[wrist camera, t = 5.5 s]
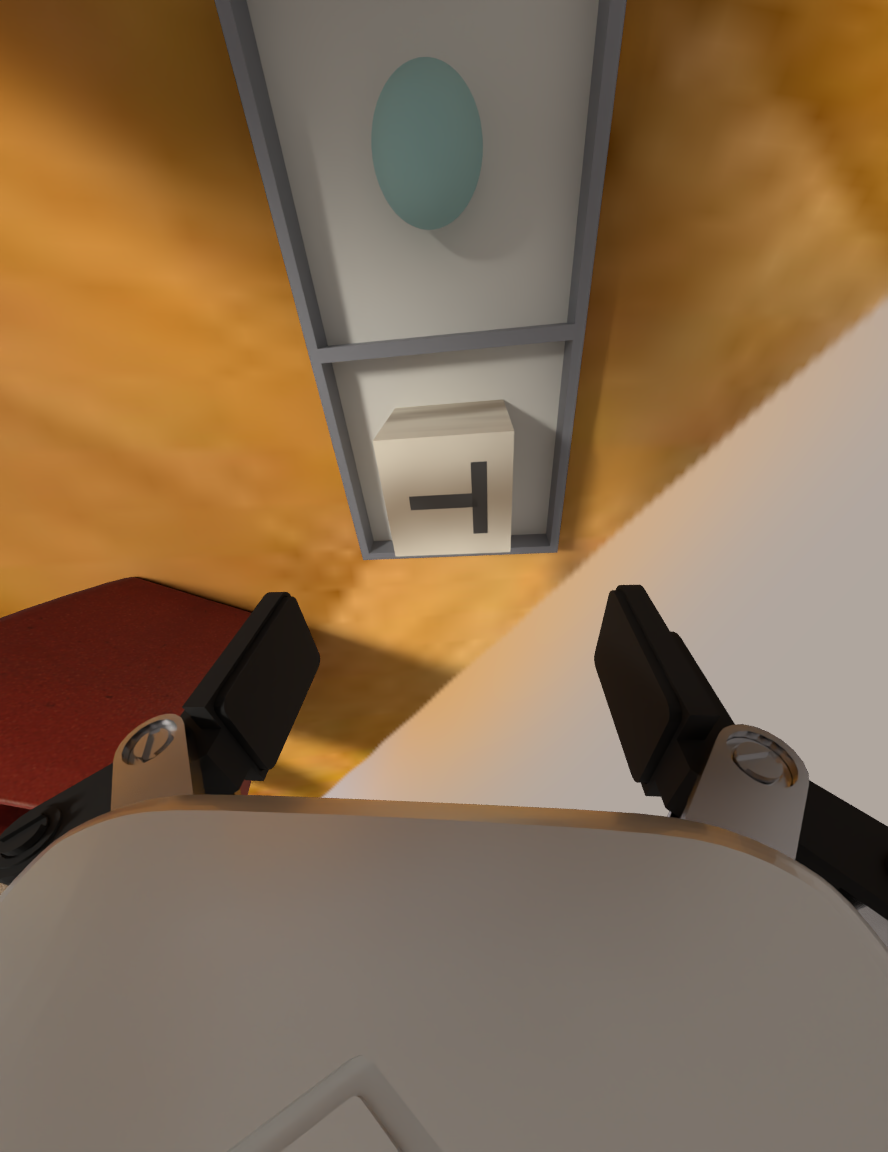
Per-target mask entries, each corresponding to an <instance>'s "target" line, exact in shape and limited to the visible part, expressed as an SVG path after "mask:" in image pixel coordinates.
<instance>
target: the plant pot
mask: <svg viewBox="0 0 888 1152" xmlns="http://www.w3.org/2000/svg"><path fill="white" fill-rule="evenodd" d="M250 614H251V613H250V612H247V611H244V610H240V609H237V608H234V607H230V606H227V605H224V604H220V603H217V602H214V601H210V600H207V599H204V598H201V597H197V596H194V595H191V594H188V593H185V592H182V591H178V590H175V589H172V588H168V587H165V586H162V585H158V584H155V583H152V582H149V581H145V580H142V579H139V578H134V577H129V578H124V579H120V580H116V581H112V582H108V583H105V584H102V585H99V586H95V587H92V588H89V589H85V590H82V591H79V592H75V593H72V594H69V595H66V596H63V597H60V598H57V599H54V600H51V601H48V602H45V603H42V604H39V605H36V606H33V607H30V608H27V609H24V610H21V611H19V612H16V613H13V614H10V615H7V616H5V617H2V618H0V835H1V834H2V833H3V832H4V831H5V829H6V828H8V827H9V826H10V825H11V824H12V823H13V822H15V821H16V820H17V819H18V818H19V817H21V816H22V815H24V814H25V813H27V812H28V811H30V810H31V809H33V808H35V807H36V806H38V805H40V804H42V803H43V802H45V801H47V800H49V799H50V798H52V797H54V796H56V795H57V794H59V793H61V792H63V791H64V790H66V789H68V788H70V787H71V786H73V785H75V784H77V783H78V782H80V781H82V780H84V779H85V778H87V777H89V776H91V775H92V774H94V773H96V772H98V771H99V770H101V769H103V768H104V767H106V766H108V765H110V764H111V763H113V759H114V755H115V752H116V750H117V748H118V747H119V745H120V743H121V742H122V741H123V740H124V738H125V737H126V736H127V735H128V734H129V733H130V732H131V731H133V730H134V729H135V728H136V727H138V726H139V725H141V724H142V723H144V722H146V721H147V720H149V719H151V718H154V717H156V716H159V715H164V714H176V715H178V716H179V717H180V715H181V714H182V713H183V711H184V709H183V708H182V706H183V705H184V703H185V702H186V701H187V699H188V698H189V697H190V695H191V694H192V693H193V691H194V690H195V689H196V687H197V686H198V685H199V683H200V682H201V681H202V679H203V678H204V677H205V675H206V674H207V672H208V671H209V670H210V668H211V667H212V666H213V664H214V663H215V662H216V660H217V659H218V658H219V656H220V655H221V654H222V652H223V651H224V650H225V648H226V647H227V645H228V644H229V643H230V641H231V640H232V639H233V637H234V636H235V635H236V633H237V632H238V631H239V629H240V628H241V627H242V625H243V624H244V623H245V621H246V620H247V619H248V617H249V616H250ZM250 783H251V780H245V779H244V781H243V783H242V785H241V787H240V791H241V795H248V791H249V787H250Z"/></svg>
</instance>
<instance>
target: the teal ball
mask: <svg viewBox="0 0 888 1152" xmlns="http://www.w3.org/2000/svg"><path fill="white" fill-rule="evenodd" d="M371 148H372V159H373V164H374V170H375V174H376V177H377V180H378V183H379V186H380V188H381V191H382V193H383V195H384V197H385V199H386V200H387V202H388V204H389V205H390V207H391V208H392V209H393V211H394V212H395V213H396V214H397V215H398V216H399V217H400V218H401V219H402V220H404V221H405V222H406V223H408V224H410V225H412V226H414V227H416V228H419V229H424V230H434V229H439V228H442V227H444V226H447V225H448V224H450V223H451V222H453V221H454V220H455V219H456V218H458V217H459V215H460V214H461V213H462V212H463V211H464V209H465V208H466V207H467V205H468V204H469V202H470V200H471V198H472V196H473V194H474V191H475V189H476V186H477V183H478V179H479V176H480V171H481V166H482V157H483V138H482V128H481V121H480V117H479V113H478V109H477V106H476V103H475V100H474V98H473V96H472V94H471V92H470V89H469V88H468V86H467V85H466V83H465V81H464V80H463V78H462V77H461V76H460V75H459V74H458V72H457V71H456V70H454V69H453V68H452V67H451V66H450V65H448V64H447V63H445V62H444V61H442V60H439V59H436V58H432V57H418V58H415V59H411V60H409V61H407V62H406V63H404V64H402V65H401V66H400V67H399V68H397V69H396V70H395V72H394V73H393V74H392V75H391V76H390V77H389V79H388V80H387V82H386V83H385V85H384V87H383V89H382V91H381V93H380V96H379V98H378V101H377V104H376V107H375V111H374V116H373V122H372V132H371Z"/></svg>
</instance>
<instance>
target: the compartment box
mask: <svg viewBox="0 0 888 1152" xmlns="http://www.w3.org/2000/svg"><path fill="white" fill-rule="evenodd" d="M626 2H627V0H215V4H216V8H217V12H218V15H219V19H220V23H221V27H222V30H223V34H224V38H225V42H226V45H227V49H228V53H229V57H230V60H231V64H232V68H233V72H234V75H235V79H236V83H237V87H238V91H239V94H240V98H241V102H242V106H243V109H244V113H245V117H246V121H247V124H248V128H249V132H250V136H251V139H252V143H253V147H254V151H255V154H256V158H257V162H258V166H259V169H260V173H261V177H262V181H263V185H264V188H265V192H266V196H267V200H268V203H269V207H270V211H271V215H272V218H273V222H274V226H275V230H276V233H277V237H278V241H279V245H280V248H281V252H282V256H283V260H284V263H285V267H286V271H287V275H288V278H289V282H290V286H291V290H292V294H293V297H294V301H295V305H296V309H297V312H298V316H299V320H300V324H301V327H302V331H303V335H304V339H305V342H306V346H307V350H308V354H309V357H310V361H311V365H312V369H313V372H314V376H315V380H316V384H317V388H318V391H319V395H320V399H321V403H322V406H323V410H324V414H325V418H326V421H327V425H328V429H329V433H330V436H331V440H332V444H333V448H334V451H335V455H336V459H337V463H338V466H339V470H340V474H341V478H342V481H343V485H344V489H345V493H346V497H347V500H348V504H349V508H350V512H351V515H352V519H353V523H354V527H355V530H356V534H357V538H358V542H359V545H360V549H361V553H362V557H363V560H374V559H400V558H425V557H451V556H477V555H502V554H528V553H554V552H557V551H558V543H559V535H560V527H561V519H562V511H563V503H564V495H565V487H566V479H567V471H568V463H569V455H570V447H571V439H572V431H573V423H574V415H575V407H576V400H577V392H578V384H579V376H580V368H581V360H582V352H583V344H584V336H585V328H586V320H587V312H588V304H589V296H590V288H591V280H592V272H593V264H594V256H595V248H596V240H597V233H598V225H599V217H600V209H601V201H602V193H603V185H604V177H605V169H606V161H607V153H608V145H609V137H610V129H611V121H612V113H613V105H614V97H615V89H616V81H617V73H618V66H619V58H620V50H621V42H622V34H623V26H624V18H625V10H626ZM418 57H432V58H436V59H439V60H442V61H444V62H445V63H447V64H448V65H450V66H451V67H452V68H453V69H454V70H456V71H457V72H458V74H459V75H460V76H461V77H462V78H463V80H464V81H465V83H466V85H467V86H468V88H469V89H470V92H471V94H472V96H473V98H474V100H475V103H476V106H477V109H478V113H479V117H480V121H481V128H482V138H483V157H482V166H481V171H480V176H479V179H478V183H477V186H476V189H475V191H474V194H473V196H472V198H471V200H470V202H469V204H468V205H467V207H466V208H465V209H464V211H463V212H462V213H461V214H460V215H459V217H458V218H456V219H455V220H454V221H453V222H451V223H450V224H448V225H447V226H444V227H442V228H439V229H434V230H424V229H419V228H416V227H414V226H412V225H410V224H408V223H406V222H405V221H404V220H402V219H401V218H400V217H399V216H398V215H397V214H396V213H395V212H394V211H393V209H392V208H391V207H390V205H389V204H388V202H387V200H386V199H385V197H384V195H383V193H382V191H381V188H380V186H379V183H378V180H377V177H376V174H375V170H374V164H373V159H372V148H371V132H372V122H373V116H374V111H375V107H376V104H377V101H378V98H379V96H380V93H381V91H382V89H383V87H384V85H385V83H386V82H387V80H388V79H389V77H390V76H391V75H392V74H393V73H394V72H395V70H396V69H397V68H399V67H400V66H401V65H402V64H404V63H406V62H407V61H409V60H411V59H415V58H418ZM490 400H504V403H505V406H506V409H507V411H508V414H509V417H510V420H511V423H512V426H513V429H514V456H513V487H512V519H511V550H510V552H501V553H476V554H450V555H425V556H400V557H396V556H395V551H394V546H393V541H392V536H391V531H390V526H389V521H388V516H387V511H386V506H385V501H384V496H383V491H382V486H381V481H380V476H379V471H378V466H377V461H376V456H375V451H374V446H373V440H374V438H375V437H376V435H377V434H378V432H379V431H380V429H381V428H382V427H383V425H384V424H385V422H386V421H387V419H388V418H389V416H390V415H391V413H392V412H393V411H394V409H395V408H402V407H415V406H427V405H440V404H452V403H465V402H478V401H490Z"/></svg>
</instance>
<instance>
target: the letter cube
mask: <svg viewBox="0 0 888 1152" xmlns="http://www.w3.org/2000/svg"><path fill="white" fill-rule="evenodd" d="M373 446H374V451H375V456H376V461H377V466H378V471H379V476H380V481H381V486H382V491H383V496H384V501H385V506H386V511H387V516H388V521H389V526H390V531H391V536H392V541H393V546H394V551H395V556H396V557H400V556H425V555H450V554H476V553H501V552H510V550H511V519H512V487H513V456H514V429H513V426H512V423H511V420H510V417H509V414H508V411H507V409H506V406H505V403H504V400H490V401H478V402H465V403H452V404H440V405H427V406H415V407H402V408H395V409H394V411H393V412H392V413H391V415H390V416H389V418H388V419H387V421H386V422H385V424H384V425H383V427H382V428H381V429H380V431H379V432H378V434H377V435H376V437H375V438H374V440H373Z"/></svg>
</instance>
